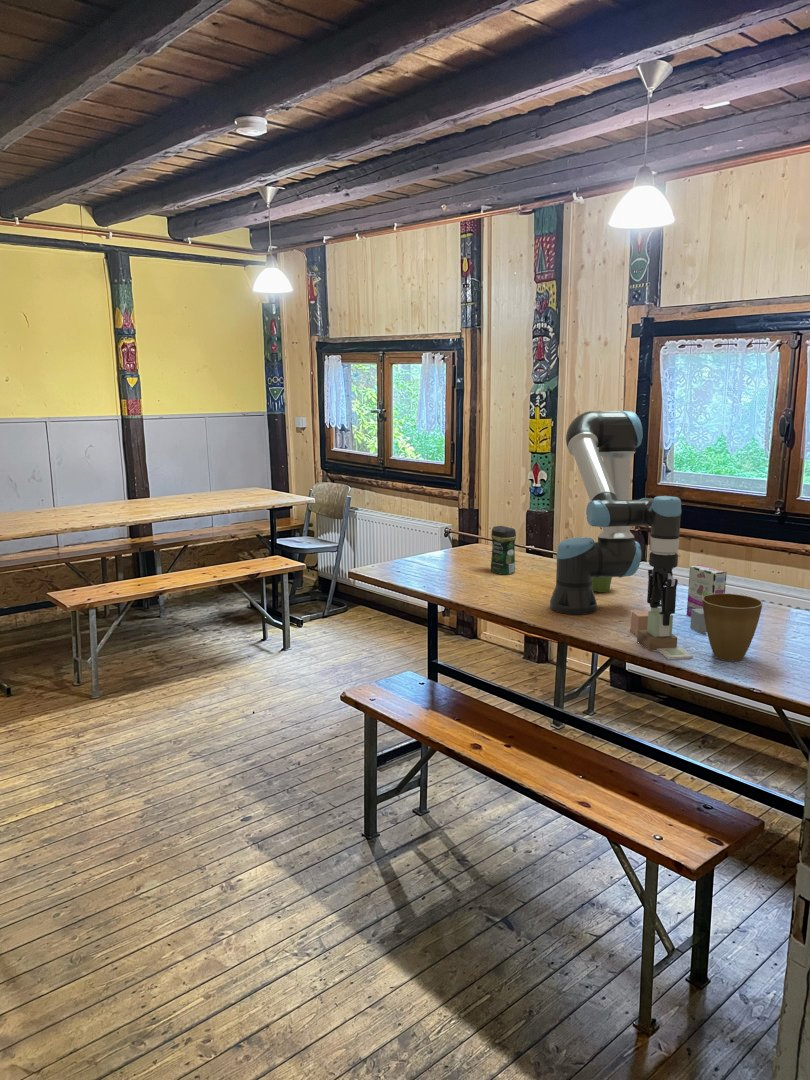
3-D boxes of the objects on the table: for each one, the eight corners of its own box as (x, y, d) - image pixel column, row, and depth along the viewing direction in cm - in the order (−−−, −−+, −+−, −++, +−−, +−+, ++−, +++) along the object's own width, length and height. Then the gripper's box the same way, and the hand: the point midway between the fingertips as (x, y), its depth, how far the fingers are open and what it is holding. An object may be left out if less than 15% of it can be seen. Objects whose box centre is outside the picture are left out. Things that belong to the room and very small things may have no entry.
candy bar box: (723, 623, 234) (727, 571, 230) (710, 625, 232) (714, 573, 229) (698, 613, 244) (701, 564, 241) (685, 615, 242) (689, 565, 239)
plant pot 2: (756, 651, 209) (761, 595, 206) (758, 669, 195) (763, 610, 192) (699, 644, 215) (703, 590, 211) (696, 661, 201) (701, 604, 198)
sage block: (647, 631, 215) (648, 611, 214) (663, 630, 216) (665, 610, 215) (654, 636, 211) (656, 616, 209) (671, 636, 211) (673, 615, 210)
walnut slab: (636, 643, 218) (637, 630, 217) (663, 641, 219) (663, 628, 218) (649, 652, 210) (650, 639, 209) (676, 651, 211) (677, 637, 210)
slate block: (690, 627, 230) (691, 609, 228) (705, 627, 230) (707, 608, 229) (698, 633, 225) (699, 613, 224) (714, 632, 225) (715, 613, 224)
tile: (656, 650, 210) (656, 647, 210) (680, 649, 211) (680, 646, 211) (668, 659, 203) (668, 656, 203) (692, 658, 204) (693, 655, 204)
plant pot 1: (601, 596, 265) (602, 565, 262) (575, 589, 274) (576, 559, 272) (623, 590, 271) (624, 560, 269) (597, 584, 281) (598, 554, 279)
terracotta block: (630, 630, 228) (631, 611, 226) (646, 629, 228) (647, 610, 227) (637, 635, 223) (638, 616, 222) (653, 635, 223) (654, 615, 222)
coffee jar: (487, 571, 301) (487, 525, 298) (502, 568, 306) (502, 523, 302) (503, 576, 294) (504, 529, 290) (518, 573, 298) (519, 527, 294)
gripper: (692, 558, 201) (687, 642, 205) (662, 546, 218) (657, 623, 222) (665, 559, 200) (660, 643, 204) (637, 546, 217) (633, 624, 222)
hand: (659, 632), depth 213 cm, fingers closed on sage block, 5 cm apart
